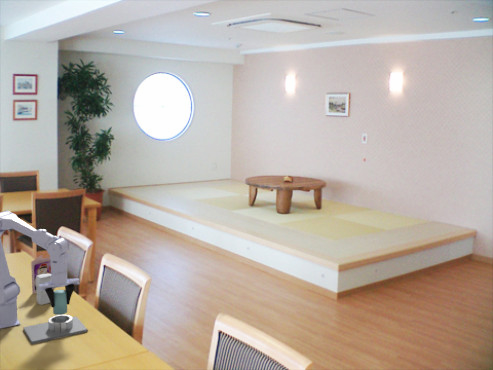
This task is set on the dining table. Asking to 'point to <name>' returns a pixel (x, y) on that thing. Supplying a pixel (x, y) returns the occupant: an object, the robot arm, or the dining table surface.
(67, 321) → the grey segmented ring
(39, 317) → the dining table surface
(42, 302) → the skincare box
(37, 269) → the greeting card
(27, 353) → the dining table surface
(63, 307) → the plug
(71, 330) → the board
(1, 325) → the robot arm
